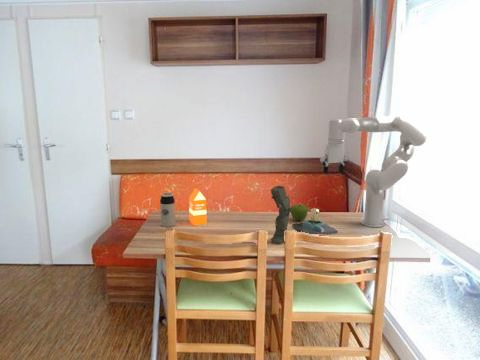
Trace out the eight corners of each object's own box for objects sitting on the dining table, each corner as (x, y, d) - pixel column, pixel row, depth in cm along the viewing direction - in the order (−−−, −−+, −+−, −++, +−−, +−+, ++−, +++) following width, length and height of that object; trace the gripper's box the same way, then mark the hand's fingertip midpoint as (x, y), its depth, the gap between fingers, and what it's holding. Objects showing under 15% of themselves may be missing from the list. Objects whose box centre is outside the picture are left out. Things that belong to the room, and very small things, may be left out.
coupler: (315, 225, 201) (316, 207, 199) (320, 227, 196) (321, 210, 194) (308, 225, 200) (309, 208, 198) (313, 228, 195) (313, 210, 193)
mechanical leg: (284, 232, 191) (278, 180, 180) (296, 235, 186) (290, 182, 175) (270, 245, 181) (262, 191, 170) (282, 249, 177) (275, 194, 166)
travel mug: (167, 222, 211) (165, 192, 207) (178, 224, 207) (177, 193, 204) (158, 225, 204) (156, 195, 200) (169, 228, 200) (168, 196, 197)
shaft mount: (319, 223, 209) (320, 215, 209) (337, 233, 193) (338, 225, 192) (291, 226, 204) (292, 218, 203) (307, 236, 187) (307, 228, 186)
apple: (305, 217, 220) (306, 201, 218) (309, 222, 210) (310, 206, 208) (288, 217, 220) (288, 201, 218) (291, 223, 210) (291, 206, 208)
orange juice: (193, 225, 204) (193, 191, 200) (189, 221, 212) (188, 188, 208) (206, 224, 208) (206, 190, 204) (202, 219, 215) (201, 187, 212)
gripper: (344, 141, 203) (342, 171, 206) (317, 141, 198) (316, 172, 201) (352, 142, 196) (350, 173, 199) (324, 143, 191) (323, 175, 194)
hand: (333, 172), depth 200 cm, fingers open, 9 cm apart
